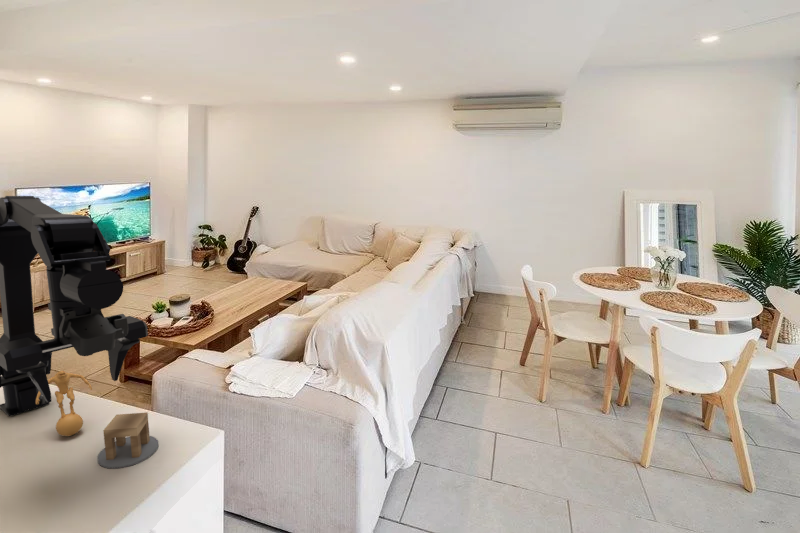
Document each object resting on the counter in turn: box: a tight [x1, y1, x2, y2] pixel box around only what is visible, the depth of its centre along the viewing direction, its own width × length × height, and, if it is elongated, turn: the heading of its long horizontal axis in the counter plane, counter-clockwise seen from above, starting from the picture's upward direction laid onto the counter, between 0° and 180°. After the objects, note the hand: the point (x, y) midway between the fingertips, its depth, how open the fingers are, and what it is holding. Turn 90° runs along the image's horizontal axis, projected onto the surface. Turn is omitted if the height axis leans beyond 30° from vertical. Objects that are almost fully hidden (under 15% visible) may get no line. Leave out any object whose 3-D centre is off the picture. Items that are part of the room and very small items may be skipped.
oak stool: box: [102, 412, 150, 460], centre depth 74 cm, size 5×5×6 cm
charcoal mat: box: [97, 435, 159, 469], centre depth 74 cm, size 9×9×1 cm
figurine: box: [36, 370, 93, 437], centre depth 78 cm, size 8×6×12 cm
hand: (83, 390), depth 69 cm, fingers open, 9 cm apart
